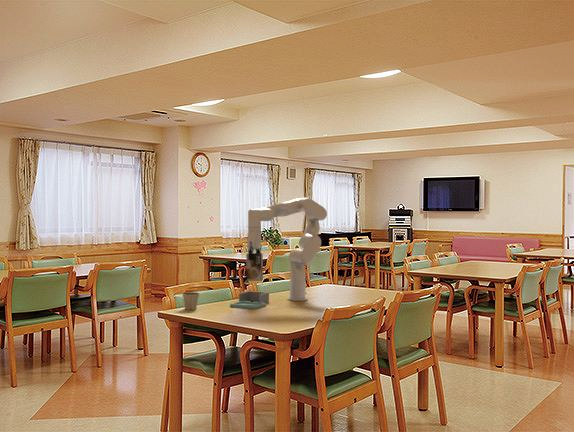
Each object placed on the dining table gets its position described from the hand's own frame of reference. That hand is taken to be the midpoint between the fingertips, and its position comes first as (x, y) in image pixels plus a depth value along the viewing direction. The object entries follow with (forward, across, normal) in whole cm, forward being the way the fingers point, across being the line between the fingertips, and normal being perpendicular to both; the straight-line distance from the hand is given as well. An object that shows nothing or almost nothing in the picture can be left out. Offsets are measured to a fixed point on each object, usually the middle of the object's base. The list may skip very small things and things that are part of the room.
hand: (254, 259), depth 331 cm
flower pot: (+25, +36, -21) cm, 49 cm away
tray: (+26, +13, +2) cm, 29 cm away
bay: (+26, +1, -1) cm, 26 cm away
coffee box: (+13, 0, 0) cm, 13 cm away
